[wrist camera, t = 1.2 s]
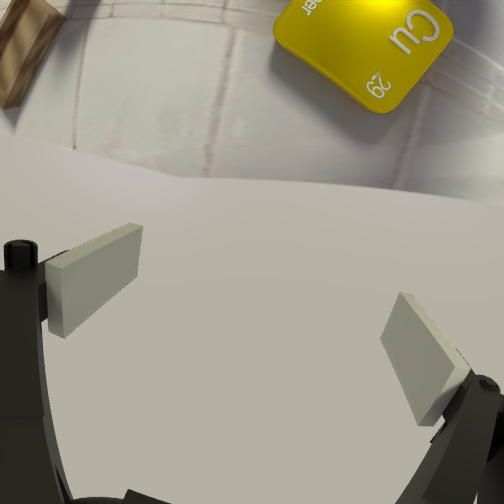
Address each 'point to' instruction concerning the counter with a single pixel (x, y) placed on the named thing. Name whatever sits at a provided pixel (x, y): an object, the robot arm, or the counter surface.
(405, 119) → the counter surface
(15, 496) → the robot arm
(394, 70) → the element tile
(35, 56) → the u rest
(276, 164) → the counter surface
